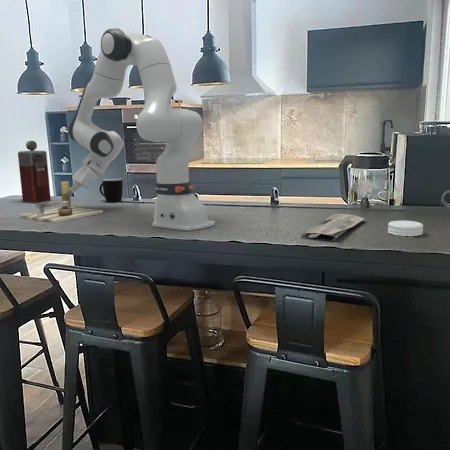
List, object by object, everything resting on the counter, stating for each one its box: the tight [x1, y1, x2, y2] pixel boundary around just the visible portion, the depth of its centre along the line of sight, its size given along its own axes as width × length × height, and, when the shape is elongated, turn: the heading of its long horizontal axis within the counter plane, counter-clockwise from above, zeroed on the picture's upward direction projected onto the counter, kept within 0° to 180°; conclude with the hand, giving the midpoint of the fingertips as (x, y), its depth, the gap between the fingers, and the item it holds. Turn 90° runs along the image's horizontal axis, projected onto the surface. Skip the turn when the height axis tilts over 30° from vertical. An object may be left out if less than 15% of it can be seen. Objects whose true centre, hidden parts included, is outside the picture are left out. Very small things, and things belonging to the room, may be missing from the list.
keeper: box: [34, 200, 69, 216], centre depth 179 cm, size 10×10×5 cm
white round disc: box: [387, 220, 424, 236], centre depth 144 cm, size 10×10×4 cm
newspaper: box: [300, 213, 366, 241], centre depth 152 cm, size 35×12×4 cm, turn 153°
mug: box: [99, 178, 124, 204], centre depth 218 cm, size 12×9×10 cm
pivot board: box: [18, 206, 104, 223], centre depth 185 cm, size 21×23×1 cm
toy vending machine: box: [17, 140, 52, 204], centre depth 219 cm, size 9×11×28 cm
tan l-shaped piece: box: [58, 180, 72, 215], centre depth 184 cm, size 16×5×11 cm, turn 15°
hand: (71, 192), depth 191 cm, fingers closed, pressing on tan l-shaped piece
